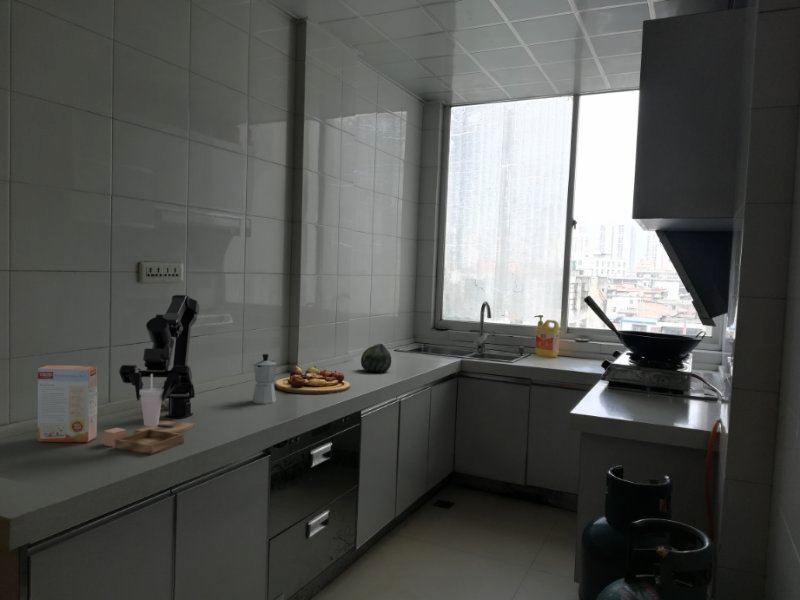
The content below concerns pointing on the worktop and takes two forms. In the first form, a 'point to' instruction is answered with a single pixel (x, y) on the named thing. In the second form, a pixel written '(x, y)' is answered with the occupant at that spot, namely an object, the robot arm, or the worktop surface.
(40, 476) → the worktop surface
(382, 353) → the squash
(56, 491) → the worktop surface
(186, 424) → the lid
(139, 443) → the wooden tray
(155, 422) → the smoothie
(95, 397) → the cracker box
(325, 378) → the wooden plate with food
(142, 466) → the worktop surface
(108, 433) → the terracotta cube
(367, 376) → the worktop surface
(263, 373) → the coffee maker
